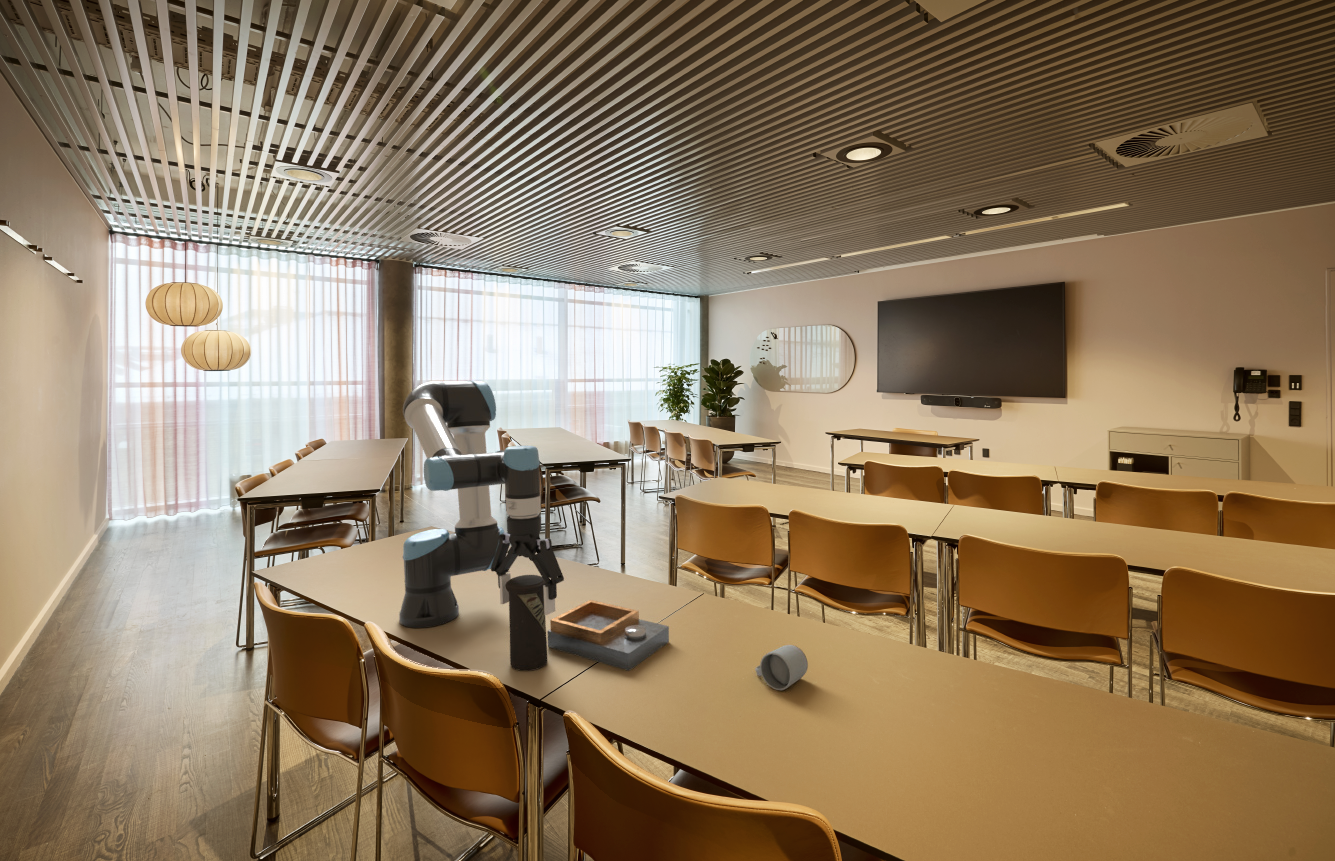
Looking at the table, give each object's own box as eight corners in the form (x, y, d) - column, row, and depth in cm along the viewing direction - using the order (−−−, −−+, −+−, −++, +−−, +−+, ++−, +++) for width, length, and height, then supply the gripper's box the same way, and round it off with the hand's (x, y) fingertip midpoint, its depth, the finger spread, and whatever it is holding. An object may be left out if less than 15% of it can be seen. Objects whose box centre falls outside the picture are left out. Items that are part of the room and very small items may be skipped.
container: (539, 673, 134) (536, 585, 132) (501, 670, 136) (498, 583, 134) (554, 656, 142) (552, 572, 141) (518, 652, 144) (515, 570, 142)
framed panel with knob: (547, 646, 147) (547, 620, 147) (592, 622, 162) (591, 598, 161) (628, 670, 135) (628, 642, 134) (668, 641, 149) (668, 616, 149)
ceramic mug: (810, 680, 130) (810, 645, 129) (790, 695, 124) (790, 659, 123) (768, 666, 137) (767, 632, 136) (747, 679, 131) (746, 645, 130)
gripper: (472, 512, 139) (476, 603, 141) (554, 524, 126) (557, 623, 128) (497, 506, 146) (501, 593, 147) (577, 517, 133) (580, 611, 134)
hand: (527, 607), depth 138 cm, fingers open, 13 cm apart
